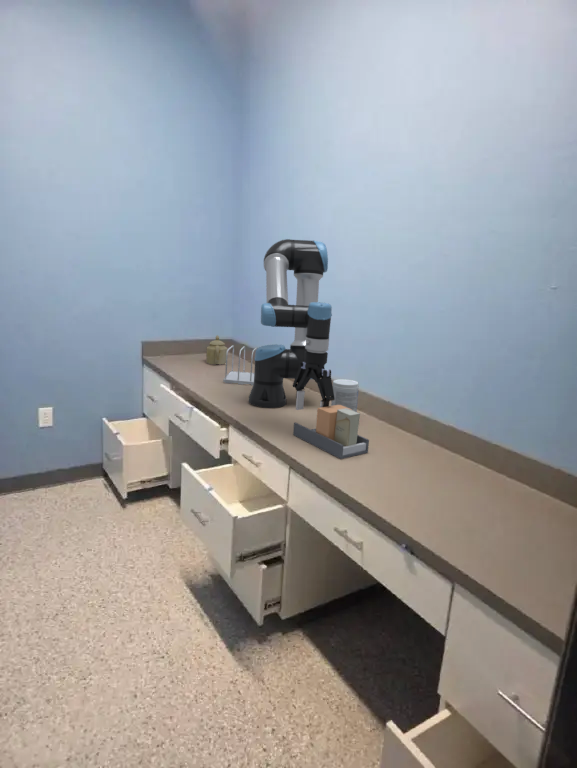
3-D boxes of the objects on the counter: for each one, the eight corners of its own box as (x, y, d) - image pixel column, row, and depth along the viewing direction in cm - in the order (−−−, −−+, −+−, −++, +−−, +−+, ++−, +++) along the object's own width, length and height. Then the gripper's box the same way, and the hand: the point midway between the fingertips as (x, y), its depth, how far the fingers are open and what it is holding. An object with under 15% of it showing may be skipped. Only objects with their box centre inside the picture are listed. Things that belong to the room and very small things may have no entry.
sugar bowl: (234, 365, 277) (235, 337, 274) (215, 367, 271) (216, 338, 267) (221, 360, 289) (221, 333, 285) (202, 361, 283) (203, 334, 279)
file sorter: (222, 383, 240) (223, 349, 236) (230, 375, 256) (231, 343, 253) (277, 387, 238) (279, 353, 234) (281, 379, 255) (283, 347, 251)
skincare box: (332, 446, 165) (335, 409, 162) (343, 444, 168) (346, 407, 165) (346, 453, 160) (349, 415, 157) (356, 450, 163) (360, 413, 160)
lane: (293, 434, 176) (294, 422, 175) (319, 430, 182) (320, 418, 181) (340, 459, 157) (342, 445, 156) (367, 452, 164) (369, 439, 163)
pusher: (315, 440, 168) (317, 407, 166) (336, 436, 174) (339, 404, 171) (327, 446, 164) (329, 413, 161) (349, 442, 169) (352, 409, 166)
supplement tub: (361, 422, 194) (364, 383, 190) (341, 425, 189) (344, 386, 185) (344, 415, 202) (347, 377, 198) (324, 418, 197) (327, 379, 193)
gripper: (285, 344, 178) (280, 405, 183) (331, 358, 159) (325, 426, 164) (302, 343, 182) (298, 403, 187) (350, 357, 163) (343, 423, 169)
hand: (310, 414), depth 176 cm, fingers open, 12 cm apart
